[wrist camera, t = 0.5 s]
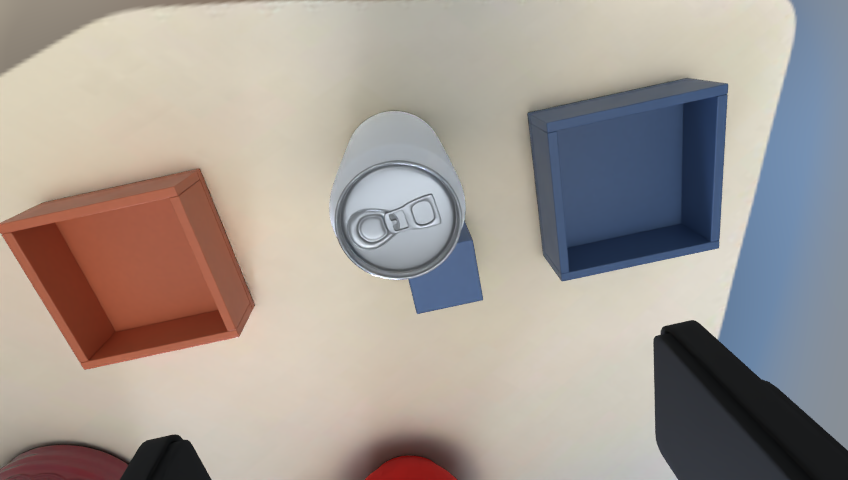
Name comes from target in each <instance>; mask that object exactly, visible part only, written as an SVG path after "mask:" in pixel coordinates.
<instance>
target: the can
mask: <svg viewBox="0 0 848 480" xmlns="http://www.w3.org/2000/svg"><path fill="white" fill-rule="evenodd" d="M465 210H466V206H465V196H464V191H463V188H462V185H461V182H460V180H459V178H458V175H457V173H456V171H455V169H454V167H453V165H452V163H451V161H450V159H449V157H448V155H447V153H446V151H445V149H444V147H443V145H442V143H441V141H440V140H439V138H438V136H437V135H436V133H435V132H434V130H433V129H432V128H431V127H430V126H429V125H428V124H427V123H426V122H425V121H423V120H422V119H421V118H419V117H417V116H415V115H413V114H410V113H407V112H402V111H387V112H382V113H379V114H376V115H374V116H372V117H370V118H368V119H367V120H365V121H364V122H363V123H362V124H361V125H360V126H359V127H358V128H357V129H356V130H355V132H354V133H353V135H352V137H351V139H350V141H349V143H348V145H347V148H346V150H345V153H344V156H343V159H342V161H341V164H340V167H339V169H338V172H337V175H336V178H335V181H334V184H333V187H332V191H331V196H330V219H331V224H332V227H333V230H334V232H335V235H336V237H337V239H338V241H339V244H340V246H341V248H342V249H343V251H344V252H345V254H346V255H347V256H348V258H349V259H350V260H351V261H352V262H353V263H354V264H355V265H357V266H358V267H359V268H361V269H362V270H364V271H366V272H367V273H369V274H372V275H374V276H377V277H380V278H385V279H392V280H404V279H411V278H415V277H419V276H422V275H424V274H427V273H429V272H430V271H432V270H434V269H435V268H437V267H438V266H439V265H441V264H442V263H443V262H444V261H445V260H446V259H447V258H448V257H449V256H450V254H451V253H452V251H453V250H454V248H455V246H456V244H457V242H458V240H459V237H460V233H461V230H462V227H463V224H464V219H465Z"/></svg>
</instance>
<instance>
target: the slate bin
mask: <svg viewBox="0 0 848 480" xmlns="http://www.w3.org/2000/svg"><path fill="white" fill-rule="evenodd" d="M727 93H728V84H726V83H719V82H712V81H704V80H697V79H689V78H685V79H681V80H676V81H672V82H667V83H662V84H658V85H653V86H649V87H644V88H639V89H635V90H630V91H626V92H621V93H616V94H612V95H607V96H603V97H598V98H594V99H589V100H584V101H580V102H575V103H571V104H566V105H561V106H557V107H552V108H548V109H543V110H538V111H534V112H529V113H528V121H529V130H530V139H531V148H532V157H533V166H534V175H535V184H536V193H537V202H538V211H539V220H540V229H541V238H542V247H543V256H544V257H545V259H546V260H547V261H548V263H549V264H550V266H551V267H552V268H553V270H554V271H555V273H556V274H557V275H558V277H559V278H560V280H561V281H567V280H571V279H576V278H581V277H585V276H590V275H595V274H600V273H604V272H609V271H614V270H618V269H623V268H628V267H632V266H637V265H642V264H647V263H651V262H656V261H661V260H665V259H670V258H675V257H680V256H684V255H689V254H694V253H698V252H703V251H708V250H713V249H717V248H719V238H720V220H721V202H722V184H723V166H724V148H725V130H726V112H727Z"/></svg>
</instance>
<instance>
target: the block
mask: <svg viewBox="0 0 848 480" xmlns="http://www.w3.org/2000/svg"><path fill="white" fill-rule="evenodd" d="M409 283H410V287H411V292H412V296H413V300H414V304H415V308H416V312H417V314H420V313H424V312H429V311H434V310H438V309H443V308H448V307H453V306H457V305H462V304H467V303H471V302H476V301H481V300H483V296H482V290H481V284H480V279H479V273H478V267H477V261H476V256H475V250H474V244H473V240H472V237H471V235H470V233H469V230H468V228H467V225H466V223H465V221H464V224H463V227H462V230H461V233H460V237H459V240H458V242H457V244H456V246H455V248H454V250H453V251H452V253H451V254H450V256H449V257H448V258H447V259H446V260H445V261H444V262H443V263H442V264H441V265H439V266H438V267H437V268H435V269H434V270H432V271H430V272H429V273H427V274H424V275H422V276H419V277H415V278H411V279H409Z"/></svg>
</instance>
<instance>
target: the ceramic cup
mask: <svg viewBox="0 0 848 480" xmlns="http://www.w3.org/2000/svg"><path fill="white" fill-rule="evenodd" d="M365 480H457V479H456V478H455V477H454V476H453V475H452V474H450V473H449V472H448V471H447V470H445V469H444V468H442V467H440V466H438V465H437V464H435V463H434V462H433V461H431V460H429V459H427V458H424V457H420V456H408V455H407V456H400V457H396V458H393V459H391V460H389V461H386V462H385V463H384V464H382V465H381V466H380V467H379V468H378V469H376V470H375V471H374V472H372V473H371V474H370V475H369V476H368V477H367V478H366V479H365Z"/></svg>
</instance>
